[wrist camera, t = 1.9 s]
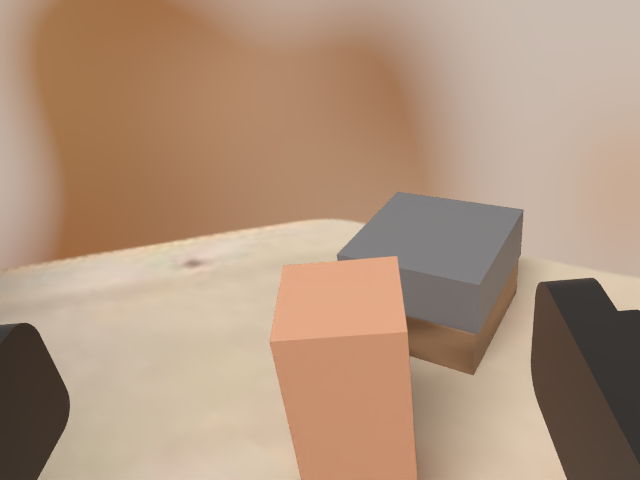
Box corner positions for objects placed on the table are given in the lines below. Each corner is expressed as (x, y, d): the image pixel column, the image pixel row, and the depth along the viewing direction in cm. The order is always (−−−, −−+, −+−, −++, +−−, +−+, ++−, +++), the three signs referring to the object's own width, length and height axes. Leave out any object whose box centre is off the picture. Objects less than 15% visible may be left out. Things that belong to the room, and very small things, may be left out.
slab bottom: (345, 339, 39) (339, 299, 37) (401, 270, 45) (398, 232, 43) (473, 379, 34) (473, 335, 32) (515, 296, 40) (518, 255, 39)
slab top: (342, 299, 37) (336, 254, 35) (400, 232, 43) (397, 191, 41) (478, 334, 32) (479, 285, 31) (520, 254, 39) (523, 209, 37)
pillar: (314, 534, 27) (269, 341, 21) (318, 446, 31) (283, 265, 25) (420, 530, 26) (407, 331, 20) (410, 442, 30) (397, 255, 24)
